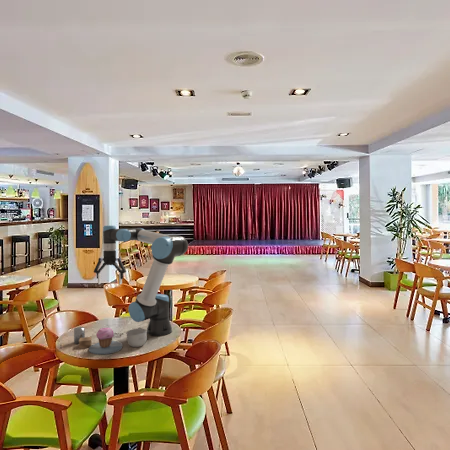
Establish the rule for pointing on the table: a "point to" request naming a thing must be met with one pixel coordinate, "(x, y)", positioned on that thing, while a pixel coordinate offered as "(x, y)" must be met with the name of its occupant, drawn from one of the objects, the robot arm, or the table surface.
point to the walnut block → (85, 342)
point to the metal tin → (78, 334)
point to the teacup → (136, 337)
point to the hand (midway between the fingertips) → (110, 284)
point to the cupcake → (105, 336)
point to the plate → (100, 350)
